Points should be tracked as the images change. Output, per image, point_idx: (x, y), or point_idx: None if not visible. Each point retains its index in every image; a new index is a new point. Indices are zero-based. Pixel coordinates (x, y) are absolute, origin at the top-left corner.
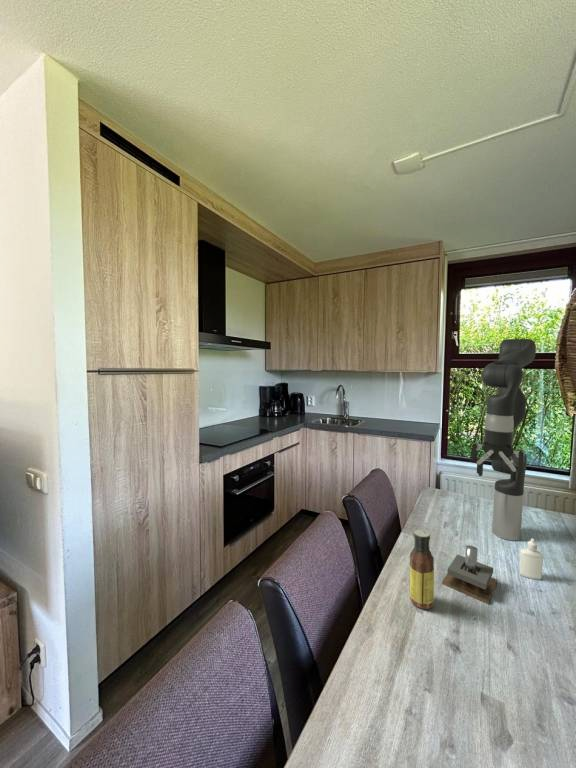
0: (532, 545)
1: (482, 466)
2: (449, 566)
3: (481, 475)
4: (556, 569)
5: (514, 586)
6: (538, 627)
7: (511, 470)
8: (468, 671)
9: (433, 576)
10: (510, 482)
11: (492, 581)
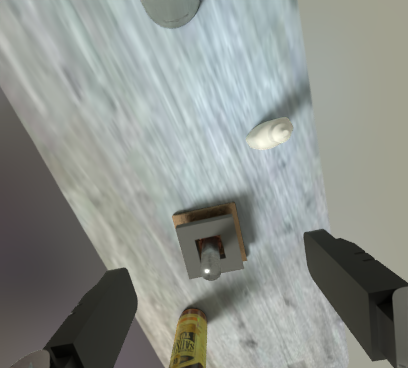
0: (283, 142)
1: (96, 344)
2: (187, 271)
3: (134, 296)
4: (286, 65)
5: (254, 187)
6: (301, 248)
7: (372, 332)
8: (271, 356)
9: (204, 357)
10: (311, 270)
11: (232, 214)
